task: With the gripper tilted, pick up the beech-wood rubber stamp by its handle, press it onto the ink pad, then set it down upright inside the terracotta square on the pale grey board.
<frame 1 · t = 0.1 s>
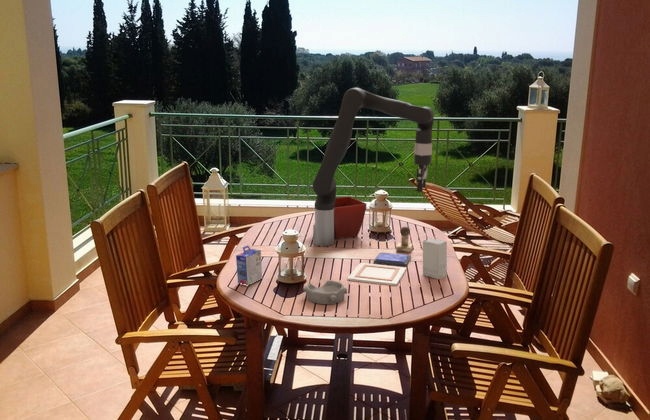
hand: (421, 189, 279), 29 cm above the table, tool pointing down, fingers open, 8 cm apart
plant pot: (340, 235, 314), on the table
ink cartridge box: (249, 282, 249), on the table
ink pad: (392, 260, 274), on the table
dish: (326, 299, 233), on the table
marked board: (377, 274, 258), on the table
skincare box: (433, 276, 257), on the table
rubber stamp: (404, 250, 290), on the table
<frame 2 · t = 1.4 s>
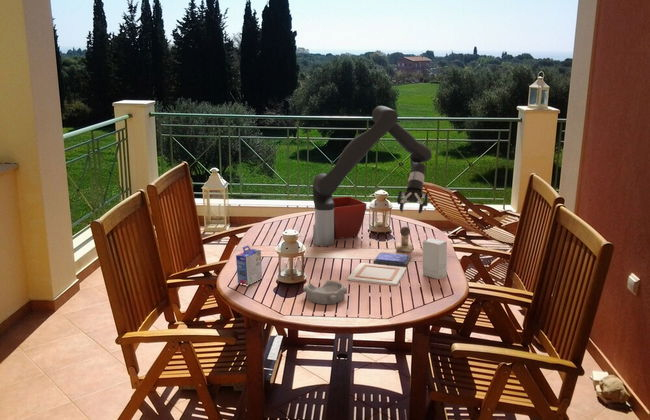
hand: (410, 211, 296), 15 cm above the table, tool tilted 45°, fingers open, 8 cm apart
nothing on the table moved.
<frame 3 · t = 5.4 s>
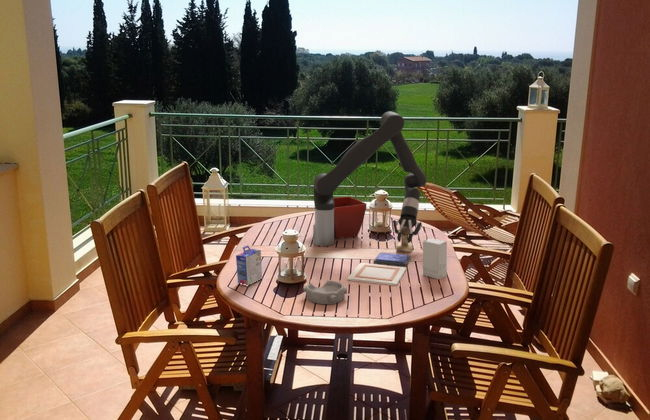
hand: (404, 241, 287), 5 cm above the table, tool tilted 45°, fingers closed on rubber stamp, 4 cm apart
rubber stamp: (404, 250, 290), on the table, touching gripper
everything else where it was.
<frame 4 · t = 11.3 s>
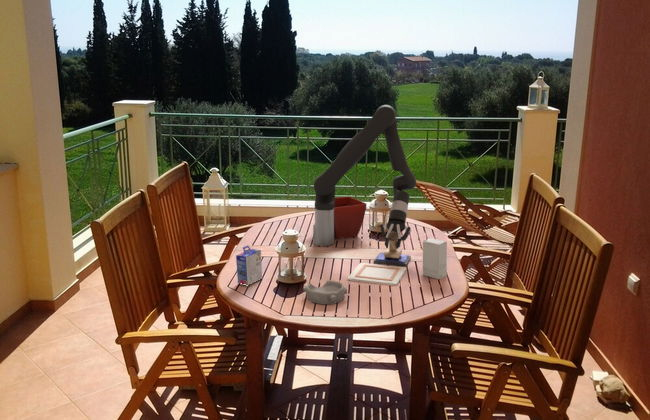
hand: (392, 247, 271), 7 cm above the table, tool tilted 45°, fingers closed on rubber stamp, 4 cm apart
rubber stamp: (393, 256, 274), point 2 cm above the table, touching gripper
everything else where it was.
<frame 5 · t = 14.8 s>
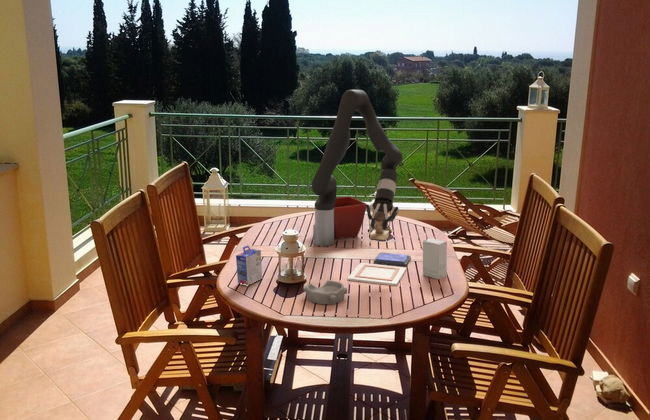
hand: (378, 228, 251), 20 cm above the table, tool tilted 45°, fingers closed on rubber stamp, 4 cm apart
rubber stamp: (379, 238, 254), point 15 cm above the table, touching gripper
everything else where it was.
when the fingers open (7 cm above the table, at t = 17.7 s): rubber stamp drops 1 cm, resting on marked board.
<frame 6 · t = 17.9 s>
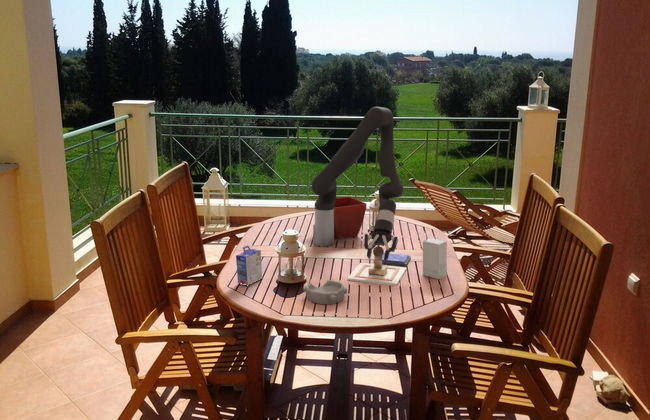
hand: (377, 258, 254), 7 cm above the table, tool tilted 45°, fingers open, 6 cm apart
rubber stamp: (377, 272, 257), point 1 cm above the table, touching marked board
everything else where it was.
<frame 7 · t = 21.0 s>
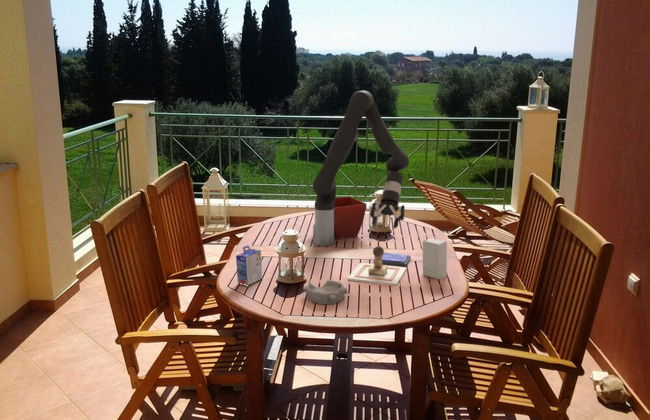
hand: (384, 226, 264), 17 cm above the table, tool tilted 45°, fingers open, 8 cm apart
nothing on the table moved.
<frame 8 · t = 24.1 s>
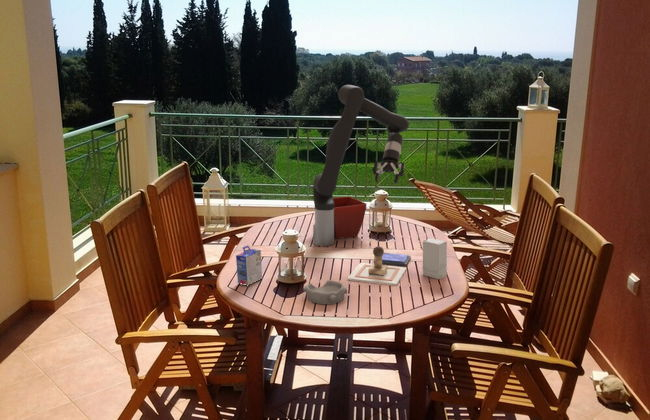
hand: (386, 182, 288), 31 cm above the table, tool tilted 45°, fingers open, 8 cm apart
nothing on the table moved.
at the end: rubber stamp 0.1 cm off-centre on the marked board, point 0.8 cm above the marked board's base; rubber stamp tilted 0°; the gripper is holding nothing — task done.
